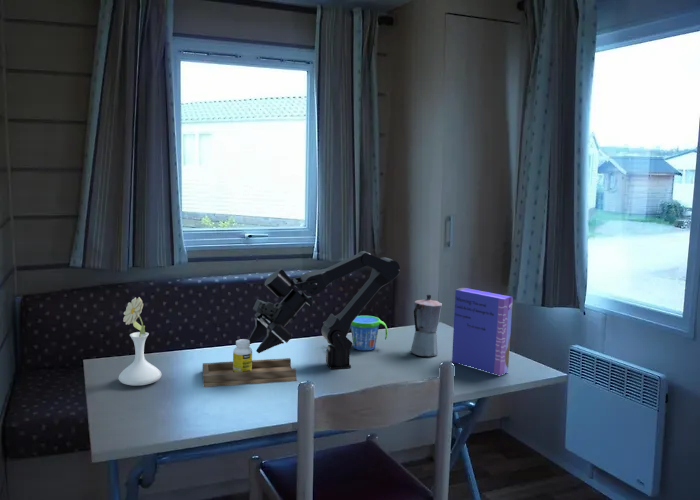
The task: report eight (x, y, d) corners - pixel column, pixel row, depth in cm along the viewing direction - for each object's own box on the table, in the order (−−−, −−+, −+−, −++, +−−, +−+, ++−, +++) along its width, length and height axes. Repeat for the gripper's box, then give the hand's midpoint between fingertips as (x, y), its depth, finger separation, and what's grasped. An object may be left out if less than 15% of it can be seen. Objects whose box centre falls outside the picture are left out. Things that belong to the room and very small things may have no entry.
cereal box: (507, 373, 184) (512, 296, 181) (499, 376, 181) (504, 298, 177) (460, 359, 196) (464, 287, 193) (451, 362, 193) (455, 288, 189)
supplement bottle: (243, 378, 171) (243, 344, 170) (229, 374, 174) (229, 341, 173) (255, 372, 176) (256, 340, 175) (241, 369, 179) (241, 337, 177)
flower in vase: (118, 377, 172) (115, 291, 168) (159, 373, 176) (158, 289, 173) (119, 393, 160) (116, 301, 156) (163, 388, 164) (162, 299, 161)
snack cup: (338, 350, 202) (339, 321, 200) (345, 341, 212) (345, 313, 211) (384, 354, 199) (385, 324, 197) (388, 345, 209) (389, 317, 208)
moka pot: (446, 351, 204) (449, 293, 202) (427, 362, 192) (430, 301, 189) (421, 345, 209) (423, 289, 207) (400, 357, 197) (403, 297, 194)
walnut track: (289, 365, 185) (289, 357, 185) (296, 380, 173) (296, 371, 172) (202, 371, 179) (202, 362, 178) (203, 386, 166) (203, 377, 166)
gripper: (260, 284, 184) (225, 322, 181) (280, 296, 167) (241, 339, 164) (285, 307, 188) (251, 345, 185) (306, 321, 171) (269, 363, 168)
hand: (252, 347), depth 175 cm, fingers open, 9 cm apart
